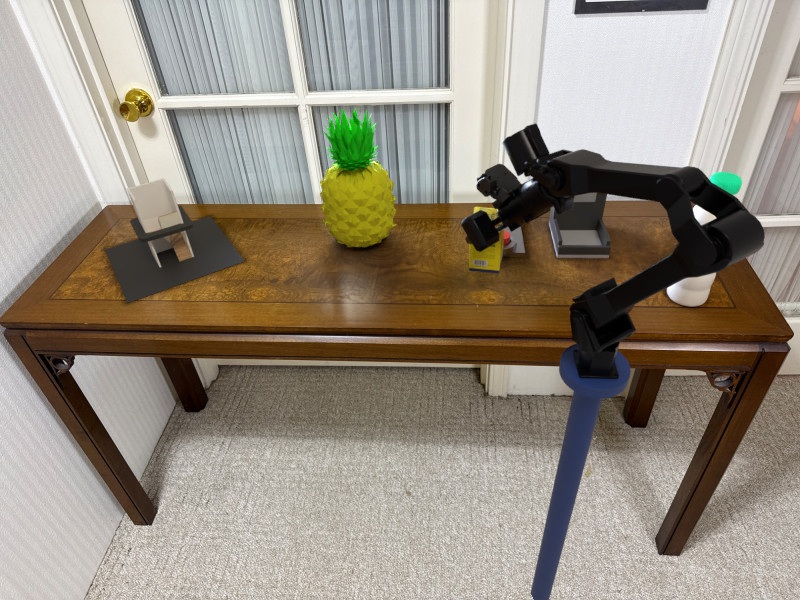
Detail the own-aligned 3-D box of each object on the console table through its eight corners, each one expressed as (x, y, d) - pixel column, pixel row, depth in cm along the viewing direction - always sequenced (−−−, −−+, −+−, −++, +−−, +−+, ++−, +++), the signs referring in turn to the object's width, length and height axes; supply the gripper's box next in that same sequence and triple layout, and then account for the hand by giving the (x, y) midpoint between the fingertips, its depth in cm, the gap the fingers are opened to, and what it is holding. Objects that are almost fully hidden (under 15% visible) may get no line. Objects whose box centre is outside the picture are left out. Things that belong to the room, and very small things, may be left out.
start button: (510, 246, 119) (510, 239, 118) (493, 246, 119) (493, 239, 118) (509, 237, 122) (509, 230, 121) (492, 237, 122) (492, 230, 121)
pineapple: (320, 260, 123) (298, 126, 104) (329, 220, 136) (311, 95, 117) (396, 258, 122) (388, 123, 103) (399, 218, 135) (391, 92, 116)
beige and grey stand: (127, 303, 114) (96, 234, 104) (104, 249, 131) (76, 185, 120) (244, 261, 124) (227, 194, 114) (210, 216, 140) (192, 154, 130)
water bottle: (704, 288, 109) (748, 169, 94) (707, 311, 104) (754, 188, 88) (665, 282, 111) (702, 164, 96) (666, 304, 106) (704, 183, 90)
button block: (525, 260, 119) (526, 248, 117) (477, 260, 120) (478, 248, 118) (517, 214, 134) (518, 202, 132) (475, 214, 135) (475, 203, 133)
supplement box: (499, 274, 107) (502, 224, 101) (468, 271, 109) (469, 221, 102) (503, 257, 112) (506, 208, 105) (473, 254, 113) (473, 206, 107)
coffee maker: (608, 258, 118) (621, 198, 110) (557, 258, 119) (566, 199, 111) (596, 224, 129) (607, 167, 120) (548, 223, 130) (556, 167, 121)
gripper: (543, 139, 98) (492, 179, 112) (470, 175, 89) (424, 214, 103) (576, 194, 98) (521, 227, 112) (506, 236, 89) (455, 266, 102)
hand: (481, 232), depth 107 cm, fingers closed on supplement box, 8 cm apart
